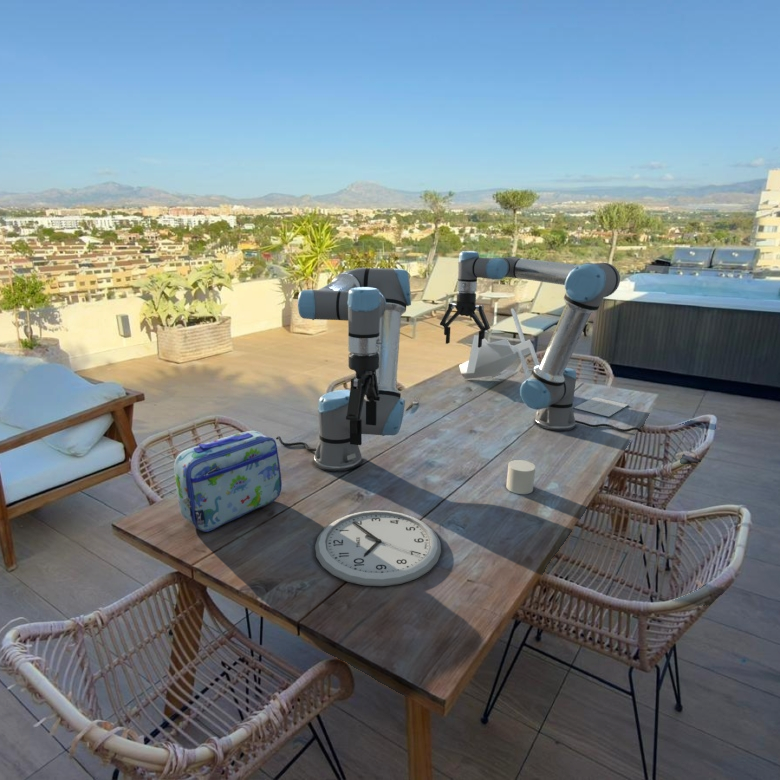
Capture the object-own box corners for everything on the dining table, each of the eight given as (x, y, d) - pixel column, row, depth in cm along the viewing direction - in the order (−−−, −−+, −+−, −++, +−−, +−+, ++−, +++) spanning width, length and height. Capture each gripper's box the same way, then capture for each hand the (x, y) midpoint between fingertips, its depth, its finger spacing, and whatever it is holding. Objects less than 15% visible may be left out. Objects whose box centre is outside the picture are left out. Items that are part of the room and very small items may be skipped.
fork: (403, 411, 216) (403, 406, 215) (414, 400, 230) (414, 395, 230) (409, 412, 215) (409, 407, 215) (420, 400, 229) (420, 396, 229)
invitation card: (608, 416, 214) (573, 407, 224) (608, 416, 214) (573, 408, 224) (628, 404, 229) (594, 396, 238) (628, 405, 229) (594, 397, 238)
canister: (522, 480, 159) (525, 458, 157) (538, 491, 152) (540, 469, 150) (501, 484, 156) (503, 461, 154) (516, 496, 150) (518, 473, 147)
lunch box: (194, 540, 125) (185, 461, 119) (175, 522, 133) (166, 447, 126) (286, 503, 143) (282, 432, 137) (265, 489, 150) (261, 421, 144)
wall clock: (452, 576, 112) (311, 582, 109) (452, 583, 112) (311, 589, 109) (430, 505, 140) (317, 508, 138) (430, 510, 141) (318, 514, 138)
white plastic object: (480, 421, 262) (459, 398, 238) (462, 347, 285) (440, 320, 260) (552, 397, 250) (537, 370, 226) (527, 322, 272) (511, 290, 248)
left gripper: (364, 366, 114) (363, 455, 121) (391, 343, 137) (389, 418, 144) (331, 363, 116) (333, 451, 122) (363, 341, 139) (363, 416, 145)
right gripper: (433, 290, 207) (431, 343, 214) (495, 295, 197) (490, 350, 203) (440, 289, 214) (438, 340, 220) (500, 293, 203) (496, 346, 210)
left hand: (363, 434), depth 133 cm, fingers open, 13 cm apart
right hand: (463, 345), depth 212 cm, fingers open, 13 cm apart
